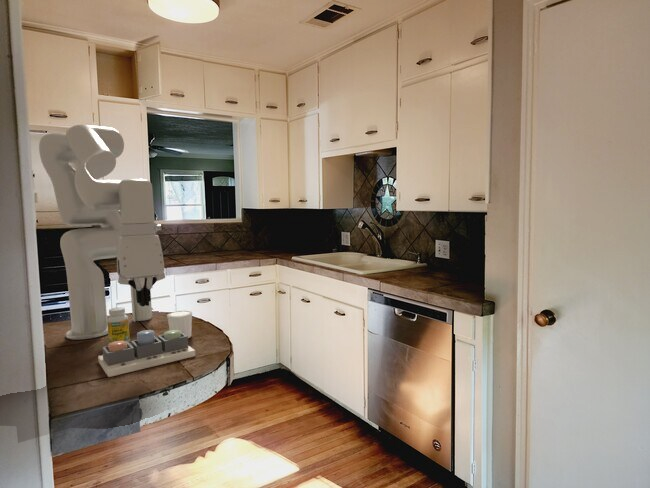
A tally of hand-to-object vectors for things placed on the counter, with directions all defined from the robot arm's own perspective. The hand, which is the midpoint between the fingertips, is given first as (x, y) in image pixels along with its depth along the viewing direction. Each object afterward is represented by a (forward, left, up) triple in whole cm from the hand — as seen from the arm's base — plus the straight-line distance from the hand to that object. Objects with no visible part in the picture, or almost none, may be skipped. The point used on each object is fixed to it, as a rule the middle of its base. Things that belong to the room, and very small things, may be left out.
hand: (144, 305), depth 106 cm
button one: (0, -7, -12) cm, 14 cm away
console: (0, 0, -14) cm, 14 cm away
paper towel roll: (-40, +8, -14) cm, 43 cm away
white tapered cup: (-12, +12, -14) cm, 22 cm away
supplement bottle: (-19, -3, -14) cm, 24 cm away
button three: (0, +6, -12) cm, 13 cm away
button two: (0, 0, -11) cm, 11 cm away
